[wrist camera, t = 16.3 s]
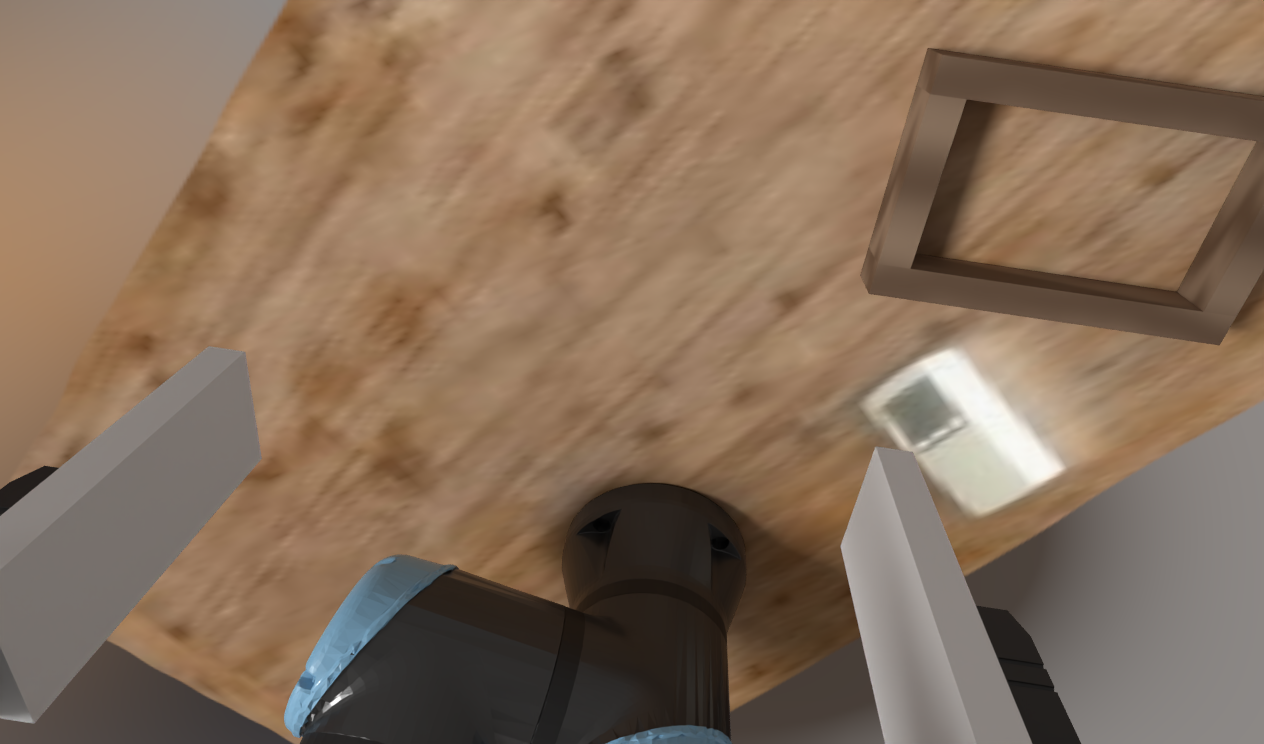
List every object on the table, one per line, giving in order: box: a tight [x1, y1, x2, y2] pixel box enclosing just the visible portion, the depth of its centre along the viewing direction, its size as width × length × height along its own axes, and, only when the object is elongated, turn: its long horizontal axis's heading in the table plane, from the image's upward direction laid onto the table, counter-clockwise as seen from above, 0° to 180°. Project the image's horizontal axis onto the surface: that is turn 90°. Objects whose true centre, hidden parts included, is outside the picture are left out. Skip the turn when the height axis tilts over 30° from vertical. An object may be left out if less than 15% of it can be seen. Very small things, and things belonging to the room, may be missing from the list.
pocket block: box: [860, 48, 1264, 345], centre depth 45 cm, size 14×22×3 cm, turn 83°
